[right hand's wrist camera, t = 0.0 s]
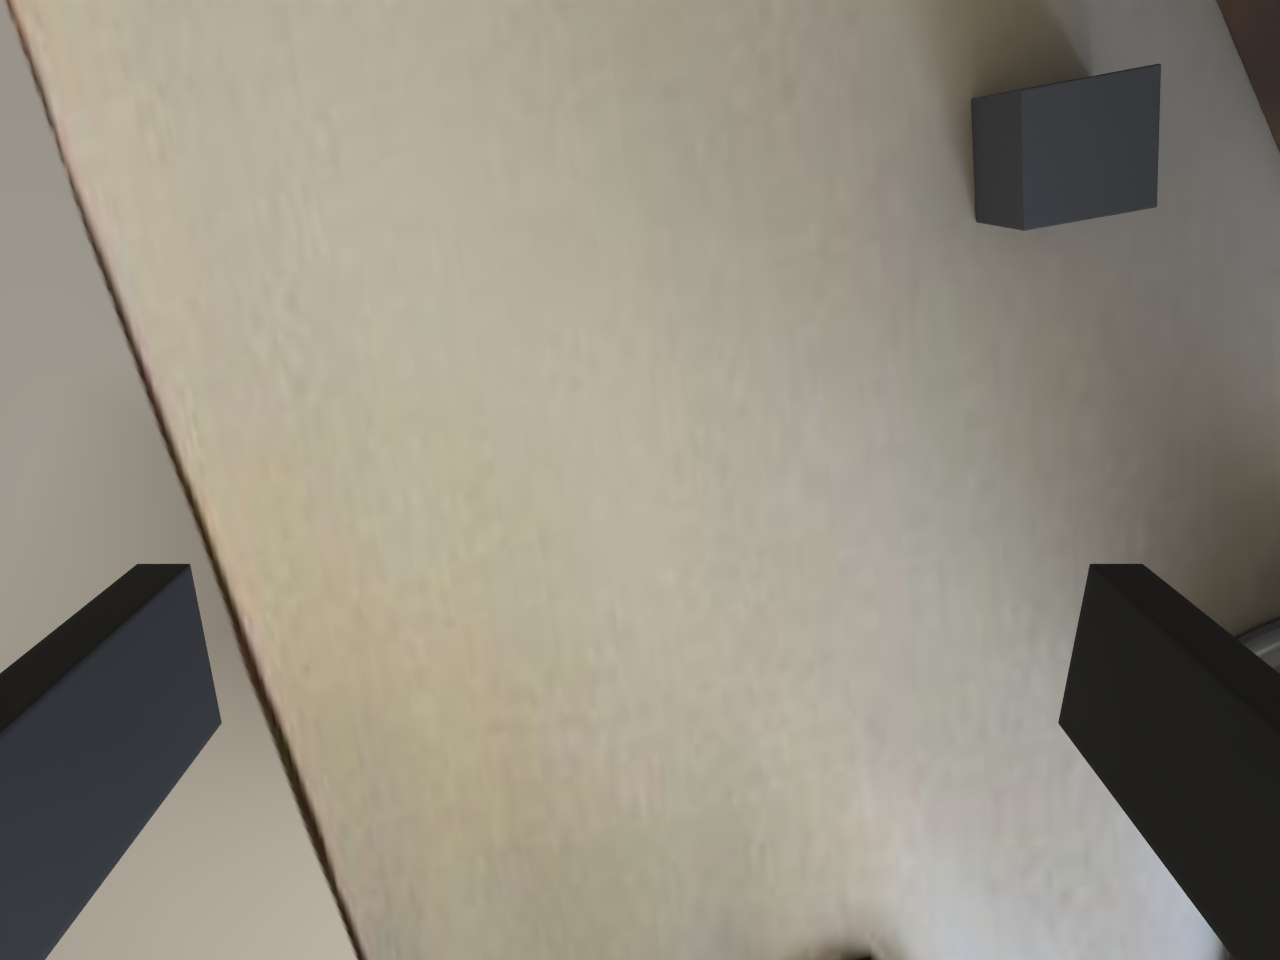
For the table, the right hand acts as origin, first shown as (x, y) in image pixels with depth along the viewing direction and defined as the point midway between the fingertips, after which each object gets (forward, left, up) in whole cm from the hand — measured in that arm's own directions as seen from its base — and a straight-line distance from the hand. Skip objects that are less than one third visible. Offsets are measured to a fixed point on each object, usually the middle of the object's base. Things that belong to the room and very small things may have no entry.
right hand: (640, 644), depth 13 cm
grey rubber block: (-7, +17, -28) cm, 33 cm away
